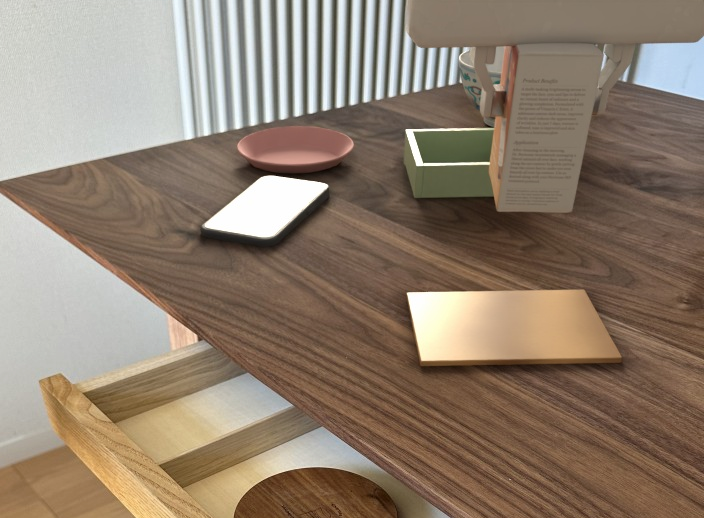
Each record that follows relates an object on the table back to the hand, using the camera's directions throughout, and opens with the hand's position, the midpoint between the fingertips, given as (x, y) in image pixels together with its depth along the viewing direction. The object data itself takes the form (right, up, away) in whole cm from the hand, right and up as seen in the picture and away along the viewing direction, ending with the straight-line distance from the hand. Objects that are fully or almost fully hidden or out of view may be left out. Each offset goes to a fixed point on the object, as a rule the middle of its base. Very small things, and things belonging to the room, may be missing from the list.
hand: (541, 114), depth 61 cm
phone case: (-21, +4, +31) cm, 38 cm away
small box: (0, -4, +4) cm, 6 cm away
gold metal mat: (0, -13, +12) cm, 18 cm away
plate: (-18, +16, +45) cm, 51 cm away
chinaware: (+11, +26, +55) cm, 62 cm away
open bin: (+1, +11, +38) cm, 40 cm away
